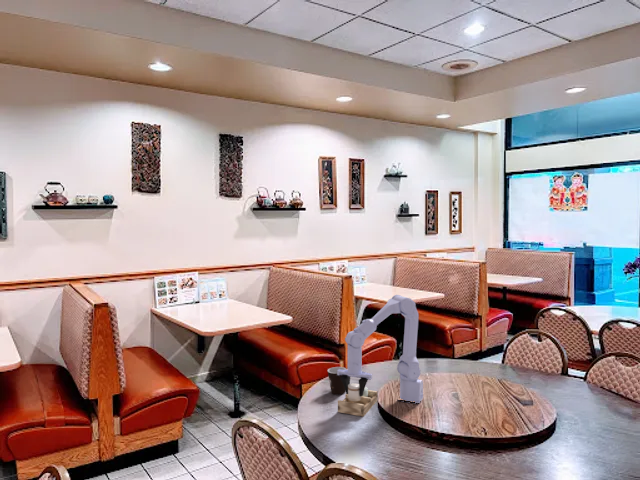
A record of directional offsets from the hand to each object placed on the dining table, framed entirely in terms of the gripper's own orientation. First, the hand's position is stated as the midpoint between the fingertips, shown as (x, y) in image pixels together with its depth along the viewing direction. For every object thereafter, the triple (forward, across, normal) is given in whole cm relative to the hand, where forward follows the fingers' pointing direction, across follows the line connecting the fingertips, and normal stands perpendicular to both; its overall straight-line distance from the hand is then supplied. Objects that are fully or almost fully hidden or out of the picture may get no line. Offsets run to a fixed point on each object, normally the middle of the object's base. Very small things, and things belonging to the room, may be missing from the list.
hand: (354, 394), depth 200 cm
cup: (+2, 0, 0) cm, 2 cm away
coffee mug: (+6, -14, +18) cm, 24 cm away
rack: (+6, 0, +4) cm, 8 cm away
